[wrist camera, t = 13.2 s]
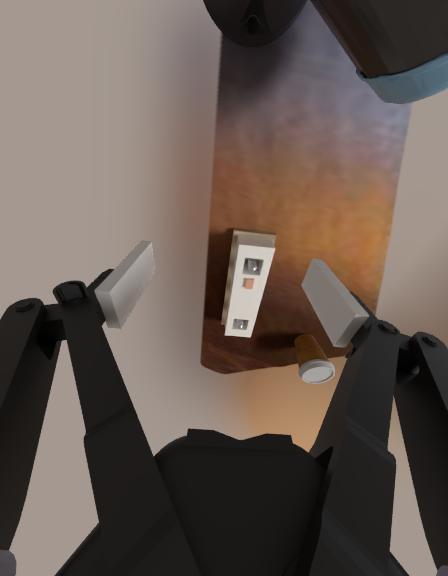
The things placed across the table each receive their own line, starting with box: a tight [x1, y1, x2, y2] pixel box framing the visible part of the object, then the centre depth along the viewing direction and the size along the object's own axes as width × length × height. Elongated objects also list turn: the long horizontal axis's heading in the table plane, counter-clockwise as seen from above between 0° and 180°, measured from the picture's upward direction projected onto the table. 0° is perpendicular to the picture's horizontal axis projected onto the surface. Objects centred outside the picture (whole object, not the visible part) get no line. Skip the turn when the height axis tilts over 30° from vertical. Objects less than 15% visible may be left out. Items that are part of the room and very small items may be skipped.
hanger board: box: [221, 229, 276, 324], centre depth 49 cm, size 28×9×2 cm, turn 174°
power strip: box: [225, 235, 275, 337], centre depth 46 cm, size 26×7×6 cm, turn 174°
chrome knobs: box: [236, 258, 257, 329], centre depth 46 cm, size 19×2×7 cm, turn 174°
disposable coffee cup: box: [294, 334, 335, 384], centre depth 57 cm, size 10×10×12 cm
